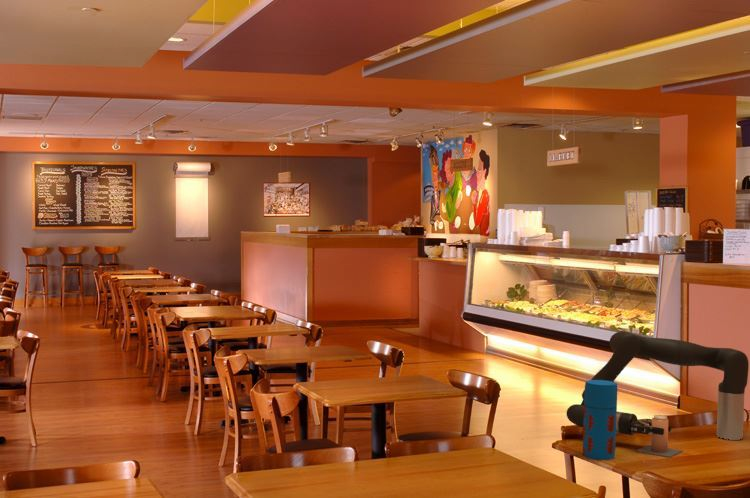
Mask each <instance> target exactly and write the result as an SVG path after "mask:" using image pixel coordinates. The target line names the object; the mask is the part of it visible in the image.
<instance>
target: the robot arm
mask: <svg viewBox="0 0 750 498" xmlns="http://www.w3.org/2000/svg"><path fill="white" fill-rule="evenodd" d="M608 343H609V348H610V349H611V351H612V352H613V353H612V355H611V357H610V359H609V360H608V361H607V363H605V365H604V366H603V367H602V368H601V369H600V370H598V371H597V372H596V373H595V374H594V375H593V377H592V378H591V379H590V380H606V381H612V382H615V380H616V379H617V378H618V377H619V375H620V374H621V373H622V371H623V370H624V369H625V368H626V367H627V366H628V364H629V363H631V362H632V360H633V359H634V358H635V357H636V356H638V357H645V358H648V359H652V360H655V361H657V362H662V363H666V364H669V365H675V366H681V367H683V366H684V367H707V368H712V369H714V370H715V369H716V370H719V371H721V372H723V379H722V381H721V382H719V383H718V387H717V388H718V391H717V392H718V393H717V413H716V414H717V415H716V435H717V436H716V438H719V437H720V438H719V439H722V438H724V439H723V440H728V439H729V440H728V441H740V439H741V440H743V439H744V438H743V437H744V434H743V433H744V417H745V415H744V414H745V413H744V411H745V393H746V392H745V391H746V387H747V385H748V381H749V380H748V379H749V378H748V377H749V368H750V367H749V363H750V362H749V359H748V356H747V354H746V353H744V352H743V351H742V350H738V349H735V348H732V347H731V348H729V347H728V348H727V347H711V346H704V345H701V344H697V343H694V342H690V341H685V340H679V339H672V338H664V337H663V338H661V337H648V336H643V335H639V334H634V333H632V332H629V331H626V330H624V331H623V330H621V331H617V332H615V333H613V334H612V335H611V336H610V339H609V341H608ZM584 395H585V389H583V391H582V393H581V397H582V401H581V403H580V404H572V405H569V406H568V407H567V409H566V412H565V413H566V418H567V419H568V420H569V422H570V423H572V424H574V426H577V427H578V428H583V422H584ZM671 432H672V426H671V425H670V424H668V433H671ZM616 434H622V435H628V436H633V435H635V434H643V435H651V434H659V435H663V434H664V429H663V428H658V427H652V419H640V420H638V417H637V415H636V414H635V413H630V412H625V411H624V412H623V411H618V410H617V415H616ZM742 438H743V439H742Z"/></svg>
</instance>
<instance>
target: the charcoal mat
mask: <svg viewBox="0 0 750 498" xmlns="http://www.w3.org/2000/svg"><path fill="white" fill-rule="evenodd" d="M636 451H637V452H636ZM635 452H636V453H641V452H642V454H646V453H647V454H648V455H653V456H657V455H658V456H657V457H663V458H668V459H670V458H672V457H674V456H677V455H679V454H681V453H682V452H684V451H683V450H681V449H677V448H670V447H668V450H667V452H654V451H652V450H651V444H648V445H645V446H643V447H642V448H641V447H640V448H639V449H637V450H635Z"/></svg>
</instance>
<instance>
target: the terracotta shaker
mask: <svg viewBox="0 0 750 498" xmlns="http://www.w3.org/2000/svg"><path fill="white" fill-rule="evenodd" d="M651 420H652V427H658V428H663V429H664V434H663V435H659V434H650V436H651V439H650V441H651V442H650V445H651V450H652V451H654V452H667V450H668V448H669V446H668V445H669V442H668V441H669V432H668V425H669V419H668V416H666V415H661V414H654V415H653V417H652V418H651Z"/></svg>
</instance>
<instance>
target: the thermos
mask: <svg viewBox="0 0 750 498" xmlns="http://www.w3.org/2000/svg"><path fill="white" fill-rule="evenodd" d="M618 389H619V388H618V383H617V382H615V381H614V382H612V381H606V380H591V379H589V380H585V383H584V390H585V395H584V422H583V427H582V428H583V429H582V456H583V457H585V458H588V459H591V460H600V461H601V460H602V461H605V460H613V459H614V458H615V455H616V454H615V453H616V438H617V437H616V435H617V433H616V415H617V411H618V407H617V406H618Z"/></svg>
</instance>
